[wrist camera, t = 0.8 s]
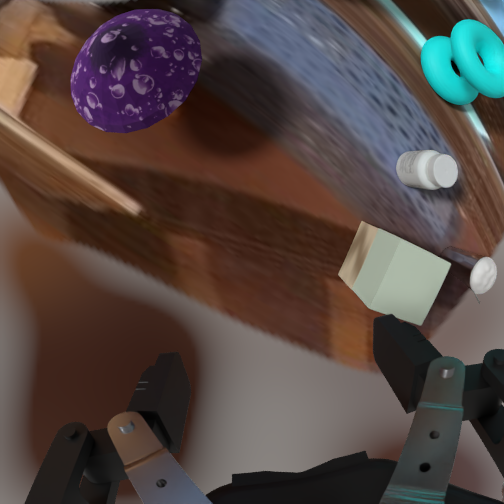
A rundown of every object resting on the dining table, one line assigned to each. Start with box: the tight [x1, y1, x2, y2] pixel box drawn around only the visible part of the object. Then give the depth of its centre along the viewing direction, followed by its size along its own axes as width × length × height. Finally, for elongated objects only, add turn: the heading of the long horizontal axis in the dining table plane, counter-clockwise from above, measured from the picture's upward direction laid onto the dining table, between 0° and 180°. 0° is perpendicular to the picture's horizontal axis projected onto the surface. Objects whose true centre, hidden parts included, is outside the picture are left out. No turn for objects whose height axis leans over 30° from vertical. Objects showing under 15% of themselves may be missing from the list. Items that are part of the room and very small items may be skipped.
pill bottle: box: [396, 150, 458, 190], centre depth 30 cm, size 4×4×8 cm
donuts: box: [421, 19, 504, 105], centre depth 25 cm, size 10×10×10 cm
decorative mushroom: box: [71, 9, 202, 133], centre depth 23 cm, size 12×12×15 cm
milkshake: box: [440, 246, 497, 301], centre depth 32 cm, size 4×5×10 cm
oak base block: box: [338, 221, 378, 289], centre depth 34 cm, size 7×7×5 cm
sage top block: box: [352, 228, 451, 325], centre depth 29 cm, size 7×7×5 cm
